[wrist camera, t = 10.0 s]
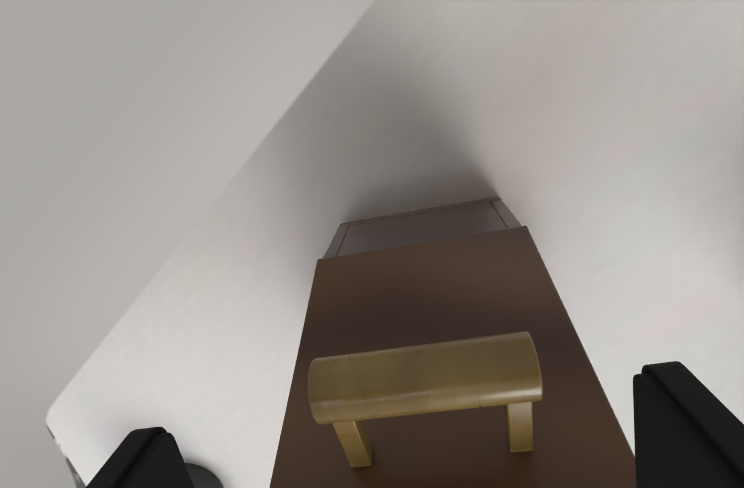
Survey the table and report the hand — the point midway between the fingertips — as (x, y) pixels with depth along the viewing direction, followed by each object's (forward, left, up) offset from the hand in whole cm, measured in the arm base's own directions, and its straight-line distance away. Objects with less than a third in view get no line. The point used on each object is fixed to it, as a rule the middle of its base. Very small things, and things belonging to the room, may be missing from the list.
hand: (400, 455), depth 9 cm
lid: (+2, -2, -9) cm, 10 cm away
